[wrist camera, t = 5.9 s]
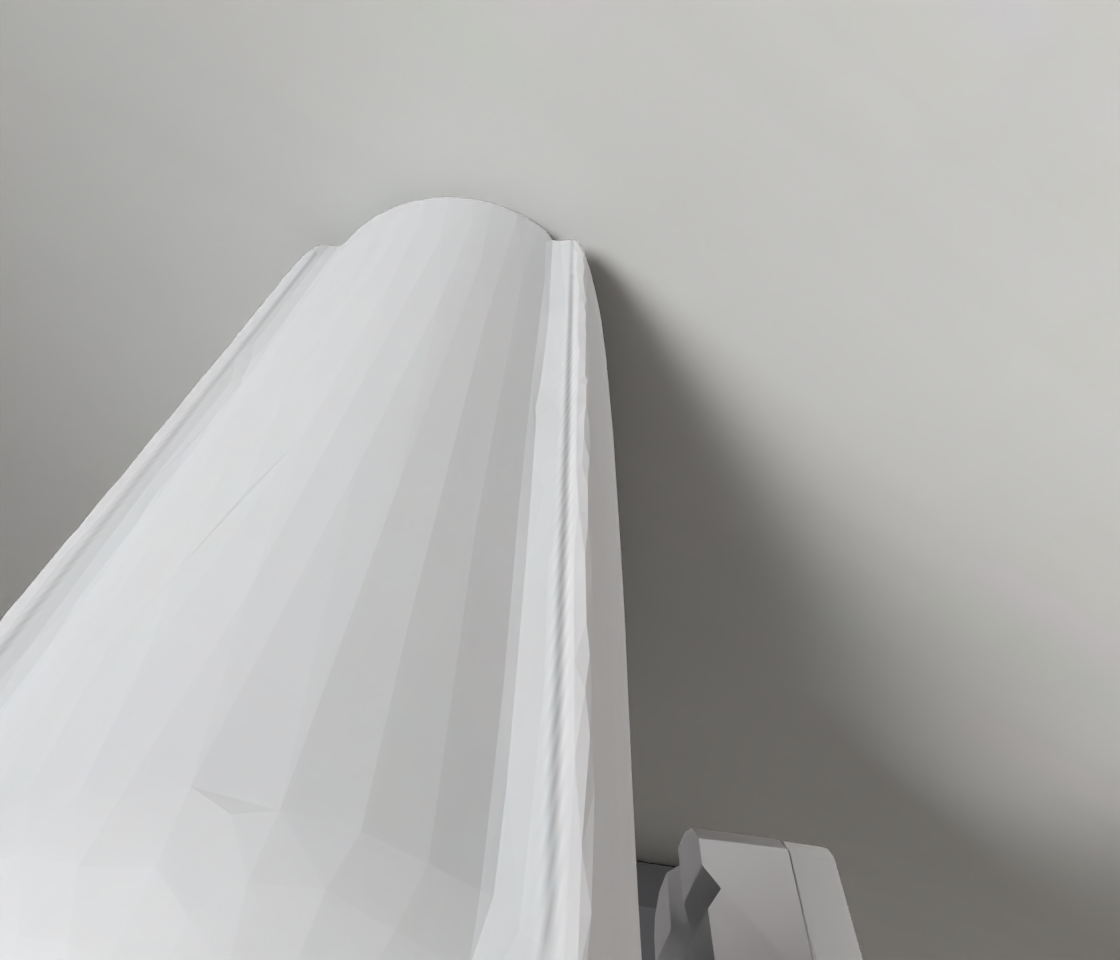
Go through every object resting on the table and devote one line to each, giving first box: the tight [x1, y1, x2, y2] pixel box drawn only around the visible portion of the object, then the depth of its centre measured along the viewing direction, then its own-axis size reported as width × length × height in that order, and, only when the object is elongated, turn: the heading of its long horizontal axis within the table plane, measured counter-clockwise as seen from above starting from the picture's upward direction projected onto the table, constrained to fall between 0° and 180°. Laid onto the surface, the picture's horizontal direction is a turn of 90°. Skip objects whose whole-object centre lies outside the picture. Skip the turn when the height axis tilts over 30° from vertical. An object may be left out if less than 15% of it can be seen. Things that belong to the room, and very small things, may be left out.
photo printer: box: [0, 197, 642, 960], centre depth 9 cm, size 10×4×12 cm, turn 2°
